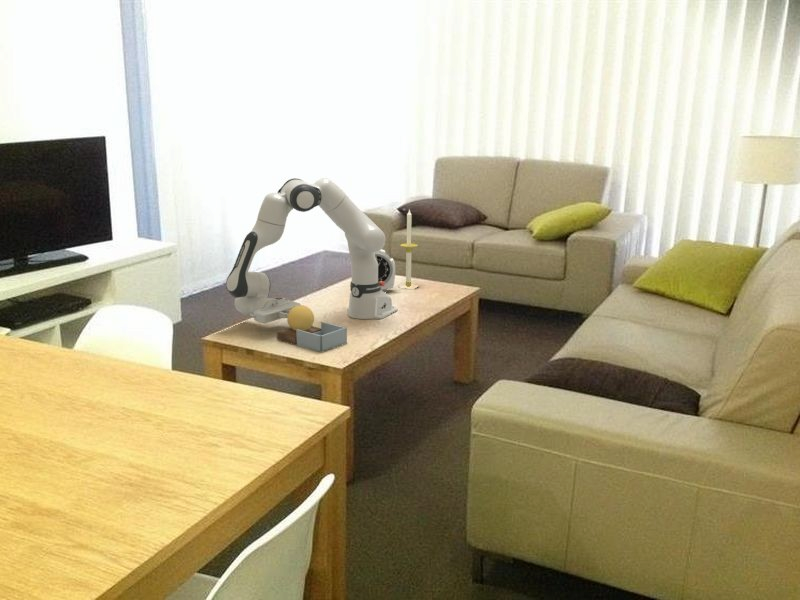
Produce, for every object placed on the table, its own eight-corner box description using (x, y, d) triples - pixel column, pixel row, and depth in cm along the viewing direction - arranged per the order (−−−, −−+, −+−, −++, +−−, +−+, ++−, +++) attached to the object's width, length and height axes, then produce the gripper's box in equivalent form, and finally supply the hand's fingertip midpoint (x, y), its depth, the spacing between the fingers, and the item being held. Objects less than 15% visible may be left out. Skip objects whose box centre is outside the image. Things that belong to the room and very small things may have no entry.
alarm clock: (356, 293, 371) (355, 250, 366) (356, 289, 380) (356, 246, 374) (395, 293, 371) (395, 250, 366) (395, 289, 380) (395, 247, 374)
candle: (421, 288, 381) (422, 210, 372) (401, 289, 379) (402, 210, 369) (415, 283, 391) (416, 206, 381) (395, 285, 388) (396, 207, 378)
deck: (303, 331, 314) (303, 323, 313) (322, 336, 308) (321, 328, 307) (276, 339, 304) (276, 332, 303) (295, 345, 298) (295, 337, 297)
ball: (298, 317, 311) (304, 297, 306) (315, 332, 307) (322, 311, 302) (279, 324, 304) (285, 303, 299) (296, 340, 300) (303, 319, 294)
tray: (322, 336, 308) (322, 321, 306) (346, 343, 300) (346, 327, 299) (296, 345, 298) (296, 329, 296) (321, 352, 290) (321, 336, 288)
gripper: (246, 307, 306) (271, 313, 298) (285, 296, 321) (310, 302, 313) (247, 323, 308) (271, 330, 299) (286, 311, 323) (310, 318, 315)
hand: (292, 315), depth 306 cm, fingers closed
